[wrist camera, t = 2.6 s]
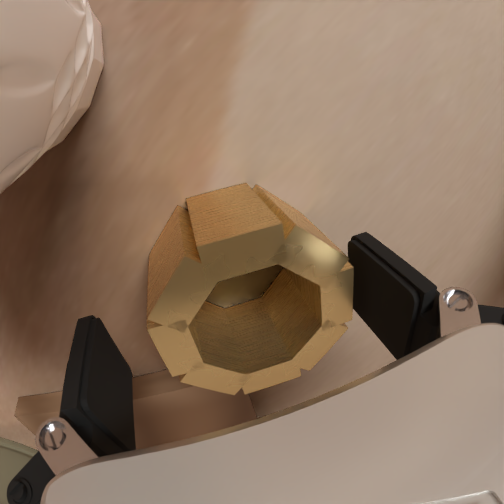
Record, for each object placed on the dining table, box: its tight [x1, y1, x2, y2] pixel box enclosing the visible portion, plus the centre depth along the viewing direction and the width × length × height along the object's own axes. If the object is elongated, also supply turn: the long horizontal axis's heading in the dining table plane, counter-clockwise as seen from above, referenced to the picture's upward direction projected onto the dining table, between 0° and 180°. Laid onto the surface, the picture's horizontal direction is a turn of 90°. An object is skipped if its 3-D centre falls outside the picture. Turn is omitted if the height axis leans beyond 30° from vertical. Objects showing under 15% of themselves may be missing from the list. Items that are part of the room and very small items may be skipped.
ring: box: [147, 183, 354, 395], centre depth 12 cm, size 7×7×4 cm
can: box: [0, 437, 38, 504], centre depth 15 cm, size 12×12×7 cm
